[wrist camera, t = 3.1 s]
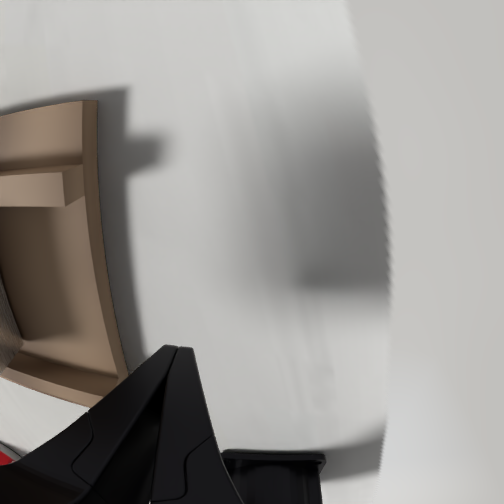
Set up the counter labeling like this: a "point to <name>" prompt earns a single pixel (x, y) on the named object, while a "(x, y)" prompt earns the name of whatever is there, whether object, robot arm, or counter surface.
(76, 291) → the track
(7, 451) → the soda can
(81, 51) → the counter surface
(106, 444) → the robot arm
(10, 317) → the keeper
